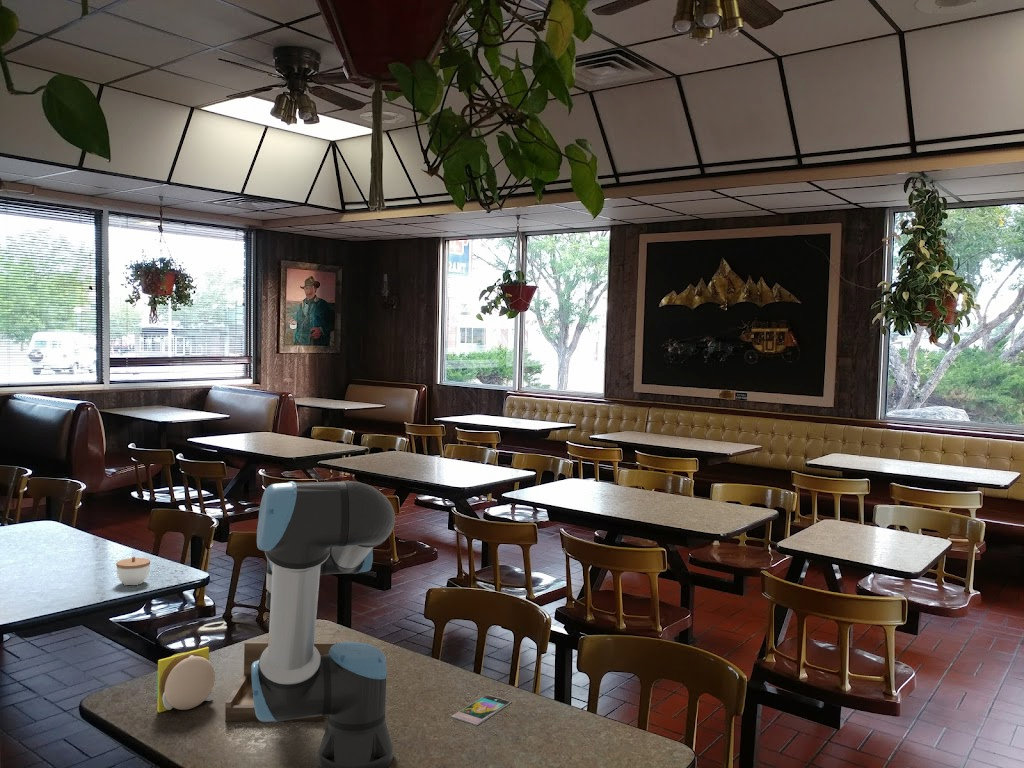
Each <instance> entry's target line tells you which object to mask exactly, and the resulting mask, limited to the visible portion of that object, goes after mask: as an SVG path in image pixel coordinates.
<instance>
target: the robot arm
mask: <svg viewBox="0 0 1024 768" xmlns="http://www.w3.org/2000/svg"><path fill="white" fill-rule="evenodd" d="M264 489H265V490H264V492H263V494H262V497H261V499H260V500H261V502H260V505H259V510H258V522H257V528H256V546H257V549H258V550H260V551H263V552H264V554H265V557H266V560H267V561H266V563H267V565H266V567H267V568H266V578H265V579H266V581H265V582H266V585H265V589H266V590H267V591H266V593H265V598H266V600H265V601H266V602H265V606H266V608H267V609H268V610H270V613H269V626H268V627H269V631H268V634H269V645H268V647H267V648H266V649H265V650H264V651H263V653H262V655H261V657H260V660H258V661H255V662H253V663H252V667H251V675H252V689H253V701H254V709H255V714H256V717H257V718H258V719H259V720H260V721H263V722H268V721H275V722H276V723H279V722H278V721H283V720H291V719H299V718H307V717H315V716H323V715H327V725H326V729H325V731H324V732H323V733H324V734H323V736H322V740H321V741H320V745H319V748H318V752H317V753H318V756H317V757H318V759H317V760H318V761H317V763H318V766H319V768H387V767H389V766H390V764H391V763H392V761H393V759H394V758H393V757H394V745H393V741H392V739H391V735H390V732H389V730H388V726H387V723H386V701H387V698H386V697H387V678H388V670H387V667H388V666H387V657H386V655H385V653H384V652H383V651H382V650H381V649H380V648H379V647H377V646H374V645H372V644H368V643H363V642H359V641H358V642H357V641H342V642H338V643H337V644H335V645H333V646H332V647H331V648H330V650H329V654H326V655H320V653H319V651H318V650H317V648H316V647H315V646H314V641H315V637H316V626H317V625H316V623H317V612H318V601H319V591H320V590H319V589H320V577H321V576H323V575H324V576H325V575H338V574H354V575H356V574H359V573H367V572H369V571H371V569H372V566H373V560H374V558H373V556H374V553H373V551H374V550H373V549H374V548H375V547H378V546H379V545H382V544H383V543H385V542H386V540H387V539H388V538H389V537H390V536H391V534H392V533H393V530H394V527H395V523H396V514H395V510H394V506H393V505H392V502H391V501H390V500H389V499H388V497H387V496H386V495H385V494H383V493H382V492H381V491H380V490H378V489H377V488H375V487H373V486H372V485H369V484H367V483H363V482H360V481H355V480H354V481H351V480H343V481H320V482H319V481H317V482H315V481H313V482H295V481H288V482H280V483H279V482H277V483H271V484H270V485H268V486H267V488H264ZM275 722H274V723H275Z"/></svg>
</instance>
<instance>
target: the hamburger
mask: <svg viewBox="0 0 1024 768" xmlns="http://www.w3.org/2000/svg"><path fill="white" fill-rule="evenodd" d="M214 669H215V668H214V667H213V665H212V663H211V662H210V647H209V646H206V647H202V648H197V649H194V650H190V651H187V652H179V653H175V654H173V655H171V656H169V657H165V658H161V659H158V660H157V672H156V678H155V684H156V699H157V703H156V704H157V706H156V707H157V709H156V710H157V711H156V712H157V713H162V712H165V711H168V710H169V711H170V710H172V709H176V710H180V711H181V710H182V711H186V710H191V709H193V708H196V707H197V706H199V705H201V704H202V703H203V702H205V701H207V702H212V701H213V699H214V694H213V692H212V690H213V687H214V686H215V685H214V684H215V682H216V680H215V679H216V675H215V673H216V672H215V670H214Z"/></svg>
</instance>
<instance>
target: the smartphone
mask: <svg viewBox="0 0 1024 768" xmlns="http://www.w3.org/2000/svg"><path fill="white" fill-rule="evenodd" d="M511 703H512V701H510V700H507V699H503V698H501V697H498V696H493V695H490V694H486V695H484V696H482V697H481V698H479V699H478V700H475V701H474V702H472V703H471V704H469V705H468V706H466V707H463V708H462V709H460V710H459V711H458V712H455V713H454V714H453V715H451V718H452V719H453V720H454V719H455V720H458V721H461V722H464V723H466V724H470V725H473V726H479V725H480V724H482V723H483V722H485V721H486V720H488V719H489V718H491V717H492V716H494V715H496V713H498V712H499V711H501V710H503V709H505V708H506V707H507V706H509V705H510V704H511Z"/></svg>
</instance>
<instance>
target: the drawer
mask: <svg viewBox="0 0 1024 768" xmlns="http://www.w3.org/2000/svg"><path fill="white" fill-rule="evenodd" d="M335 644H338V640H314V646H315V647H316V648H317V650H318V651H319V653H320V655H326V654H329V650H330V648H331V647H332V646H333V645H335ZM243 645H244V647H243V649H244V650H243V651H244V653H243V675H242V676H241V677H240V679H239V681H238V683H237V684H236V685H235V687H234V688H233V691H231V693H230V695H229V696H228V698H227V699H226V701H225V715H224V716H225V718H224V721H225V722H229V723H231V722H232V723H233V722H237V723H238V722H239V723H242V722H248V723H249V722H252V723H253V722H259V723H262V722H263V721H260V720H259V719H258V718H257V717H256V714H255V709H254V701H253V689H252V675H251V667H252V663H253V662H255V661H258V660H260V657H261V655H262V653H263V651H264V650H265V649H266V648H267V647H268V640H265V639H264V640H263V639H262V640H261V639H258V640H257V639H255V640H249V639H247V640H245V641H244V643H243ZM327 717H328V715H323V716H315V717H307V718H299V719H291V720H283V721H278V722H277V723H279V722H281V723H282V722H285V723H286V722H293V723H294V722H295V723H297V722H298V723H299V722H303V723H304V722H306V723H309V722H311V723H312V722H317V723H318V722H322V723H323V722H325V721H326V718H327ZM268 722H271V723H272V722H274V723H275V721H268Z"/></svg>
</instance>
